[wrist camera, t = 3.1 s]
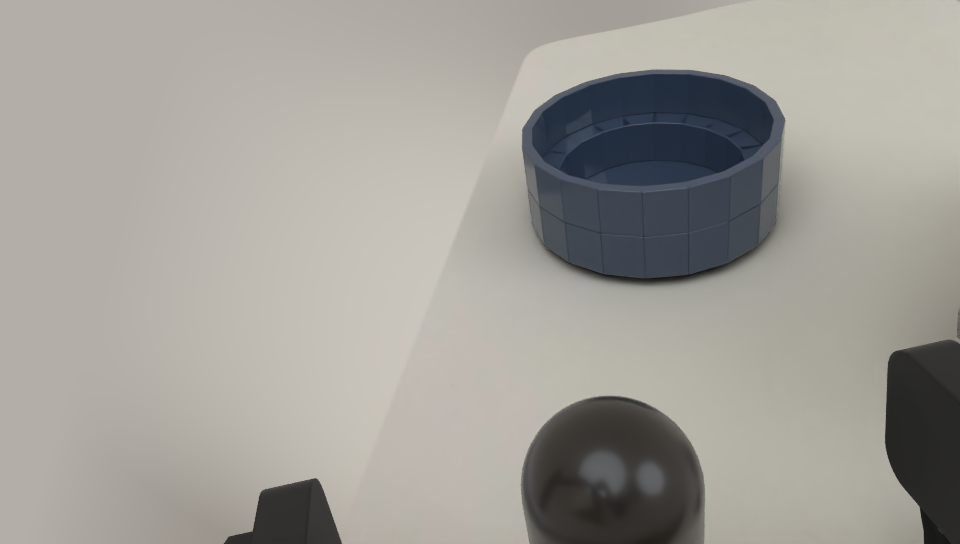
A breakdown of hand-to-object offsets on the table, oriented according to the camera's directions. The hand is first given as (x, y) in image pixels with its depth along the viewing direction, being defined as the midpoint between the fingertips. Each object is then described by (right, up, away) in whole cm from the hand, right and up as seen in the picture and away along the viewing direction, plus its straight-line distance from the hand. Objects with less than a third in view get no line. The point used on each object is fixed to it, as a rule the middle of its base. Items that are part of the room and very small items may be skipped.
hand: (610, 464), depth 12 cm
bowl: (+9, +6, +39) cm, 40 cm away
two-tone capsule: (+3, -12, +16) cm, 20 cm away
